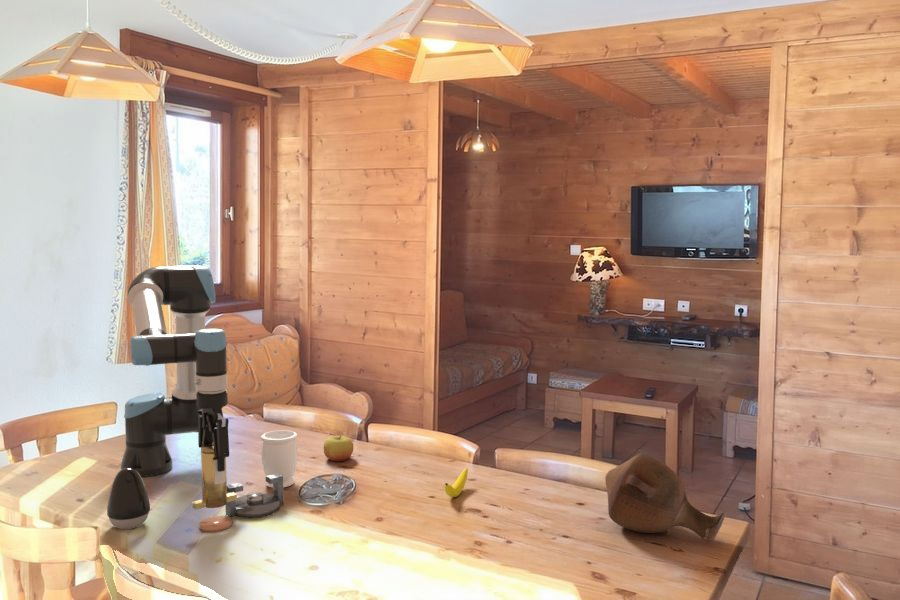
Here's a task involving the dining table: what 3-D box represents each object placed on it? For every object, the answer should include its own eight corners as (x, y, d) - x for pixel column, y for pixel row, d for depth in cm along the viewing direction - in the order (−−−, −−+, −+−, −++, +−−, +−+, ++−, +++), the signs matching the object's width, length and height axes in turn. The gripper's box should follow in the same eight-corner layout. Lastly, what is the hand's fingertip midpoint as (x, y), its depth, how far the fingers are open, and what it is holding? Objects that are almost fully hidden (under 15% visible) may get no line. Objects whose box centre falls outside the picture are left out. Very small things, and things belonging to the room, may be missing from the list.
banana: (471, 484, 233) (471, 463, 232) (451, 506, 215) (451, 484, 215) (462, 483, 234) (462, 462, 233) (441, 505, 216) (441, 482, 215)
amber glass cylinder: (189, 505, 199) (187, 447, 197) (230, 495, 206) (228, 440, 204) (198, 512, 194) (197, 453, 193) (240, 502, 201) (238, 445, 200)
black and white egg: (109, 536, 194) (106, 477, 192) (106, 522, 203) (103, 465, 201) (153, 529, 198) (151, 471, 197) (148, 515, 207) (146, 459, 206)
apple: (359, 458, 257) (359, 434, 257) (340, 466, 249) (340, 441, 248) (336, 453, 263) (336, 430, 262) (317, 460, 255) (316, 436, 254)
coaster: (194, 524, 201) (194, 521, 201) (223, 517, 206) (223, 513, 206) (206, 534, 195) (206, 530, 195) (236, 526, 200) (236, 522, 200)
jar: (289, 491, 226) (288, 440, 225) (256, 488, 228) (255, 438, 227) (303, 479, 237) (302, 430, 235) (271, 476, 239) (270, 428, 237)
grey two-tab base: (217, 509, 212) (217, 480, 211) (269, 496, 222) (269, 468, 221) (239, 523, 202) (238, 493, 201) (292, 509, 212) (291, 480, 211)
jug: (586, 528, 200) (702, 577, 185) (594, 463, 193) (715, 508, 178) (618, 491, 216) (727, 533, 200) (626, 429, 209) (740, 468, 193)
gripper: (182, 386, 202) (185, 473, 204) (213, 399, 187) (215, 492, 190) (210, 382, 207) (213, 467, 209) (242, 395, 192) (244, 486, 195)
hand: (214, 479), depth 199 cm, fingers closed on amber glass cylinder, 6 cm apart
